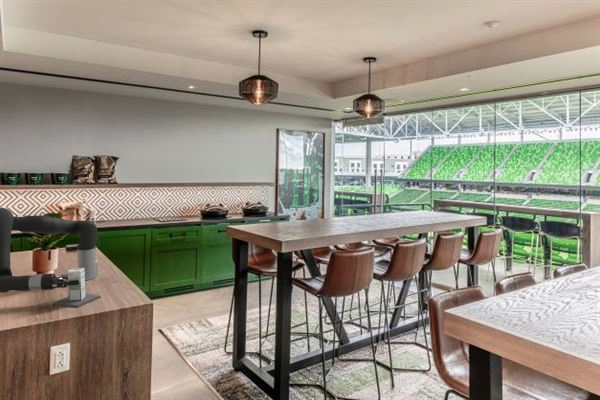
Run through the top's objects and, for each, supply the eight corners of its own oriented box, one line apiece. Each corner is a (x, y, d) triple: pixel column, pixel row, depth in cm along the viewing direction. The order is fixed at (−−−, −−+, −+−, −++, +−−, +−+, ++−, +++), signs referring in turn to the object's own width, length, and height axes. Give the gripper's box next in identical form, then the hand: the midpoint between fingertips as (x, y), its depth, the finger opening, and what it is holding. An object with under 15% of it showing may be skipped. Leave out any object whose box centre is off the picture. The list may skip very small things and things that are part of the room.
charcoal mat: (77, 294, 193) (77, 292, 193) (100, 297, 190) (100, 295, 190) (53, 304, 180) (53, 302, 180) (78, 307, 177) (78, 305, 176)
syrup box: (85, 296, 188) (84, 267, 187) (81, 300, 183) (80, 270, 181) (73, 297, 187) (71, 267, 186) (68, 301, 181) (67, 271, 180)
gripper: (36, 278, 173) (76, 276, 178) (47, 270, 187) (84, 268, 191) (37, 294, 174) (77, 292, 178) (48, 285, 187) (85, 283, 192)
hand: (81, 279), depth 185 cm, fingers open, 8 cm apart
